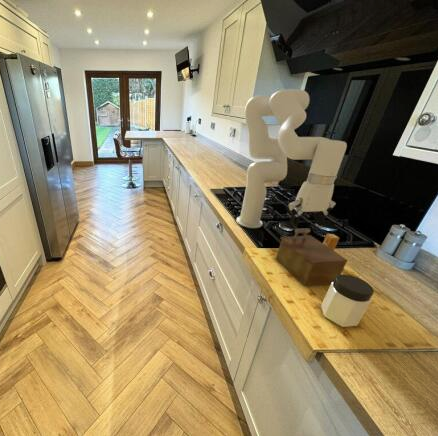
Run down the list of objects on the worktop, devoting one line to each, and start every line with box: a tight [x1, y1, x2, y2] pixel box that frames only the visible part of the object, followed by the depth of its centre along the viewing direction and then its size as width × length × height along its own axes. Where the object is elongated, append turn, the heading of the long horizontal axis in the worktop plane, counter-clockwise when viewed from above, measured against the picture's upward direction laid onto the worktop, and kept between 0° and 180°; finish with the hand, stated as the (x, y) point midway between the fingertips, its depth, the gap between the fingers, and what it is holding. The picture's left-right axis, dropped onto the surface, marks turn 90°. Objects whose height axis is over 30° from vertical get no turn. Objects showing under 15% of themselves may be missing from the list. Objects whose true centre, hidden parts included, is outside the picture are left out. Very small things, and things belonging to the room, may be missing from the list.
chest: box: [275, 239, 347, 287], centre depth 86 cm, size 16×13×9 cm
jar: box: [320, 273, 375, 328], centre depth 66 cm, size 9×8×12 cm
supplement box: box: [322, 233, 340, 251], centre depth 93 cm, size 3×3×10 cm
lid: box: [279, 227, 348, 265], centre depth 83 cm, size 16×13×5 cm
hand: (305, 224), depth 86 cm, fingers open, 9 cm apart
